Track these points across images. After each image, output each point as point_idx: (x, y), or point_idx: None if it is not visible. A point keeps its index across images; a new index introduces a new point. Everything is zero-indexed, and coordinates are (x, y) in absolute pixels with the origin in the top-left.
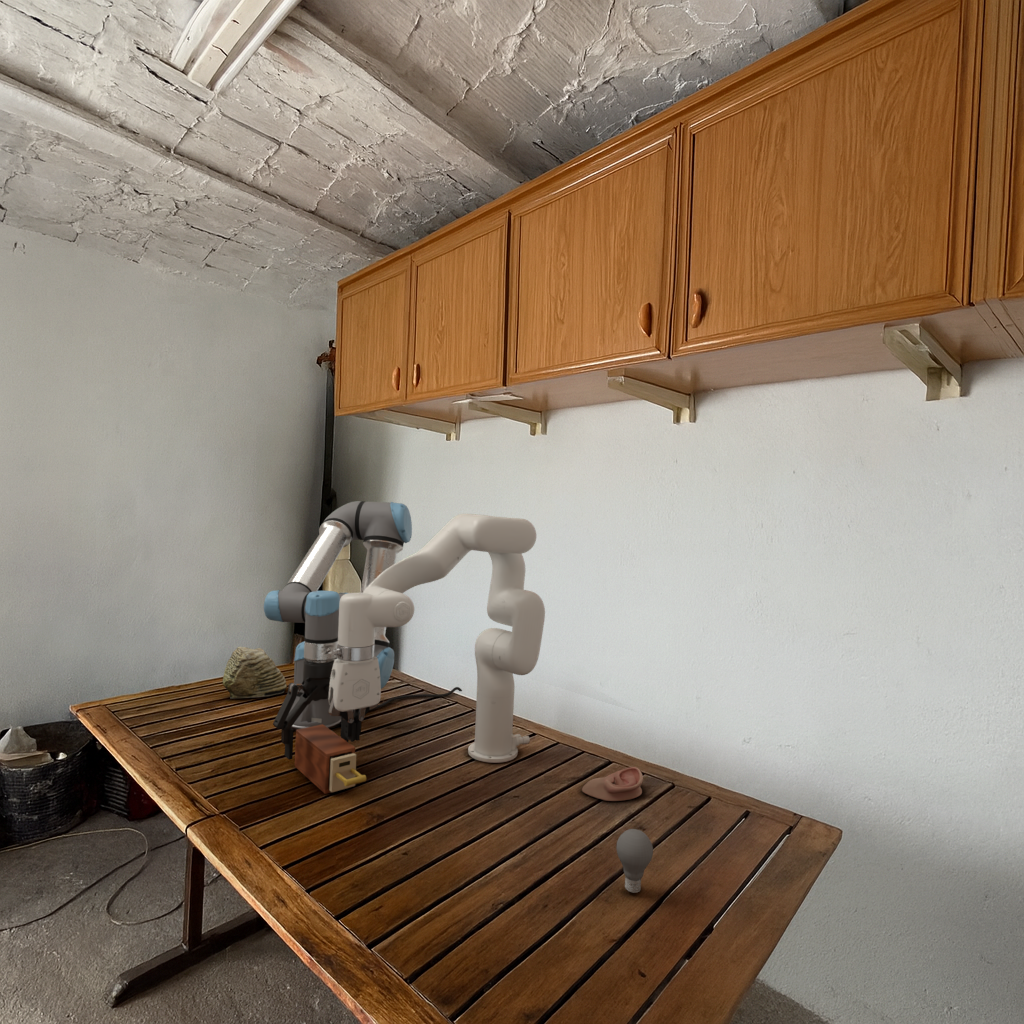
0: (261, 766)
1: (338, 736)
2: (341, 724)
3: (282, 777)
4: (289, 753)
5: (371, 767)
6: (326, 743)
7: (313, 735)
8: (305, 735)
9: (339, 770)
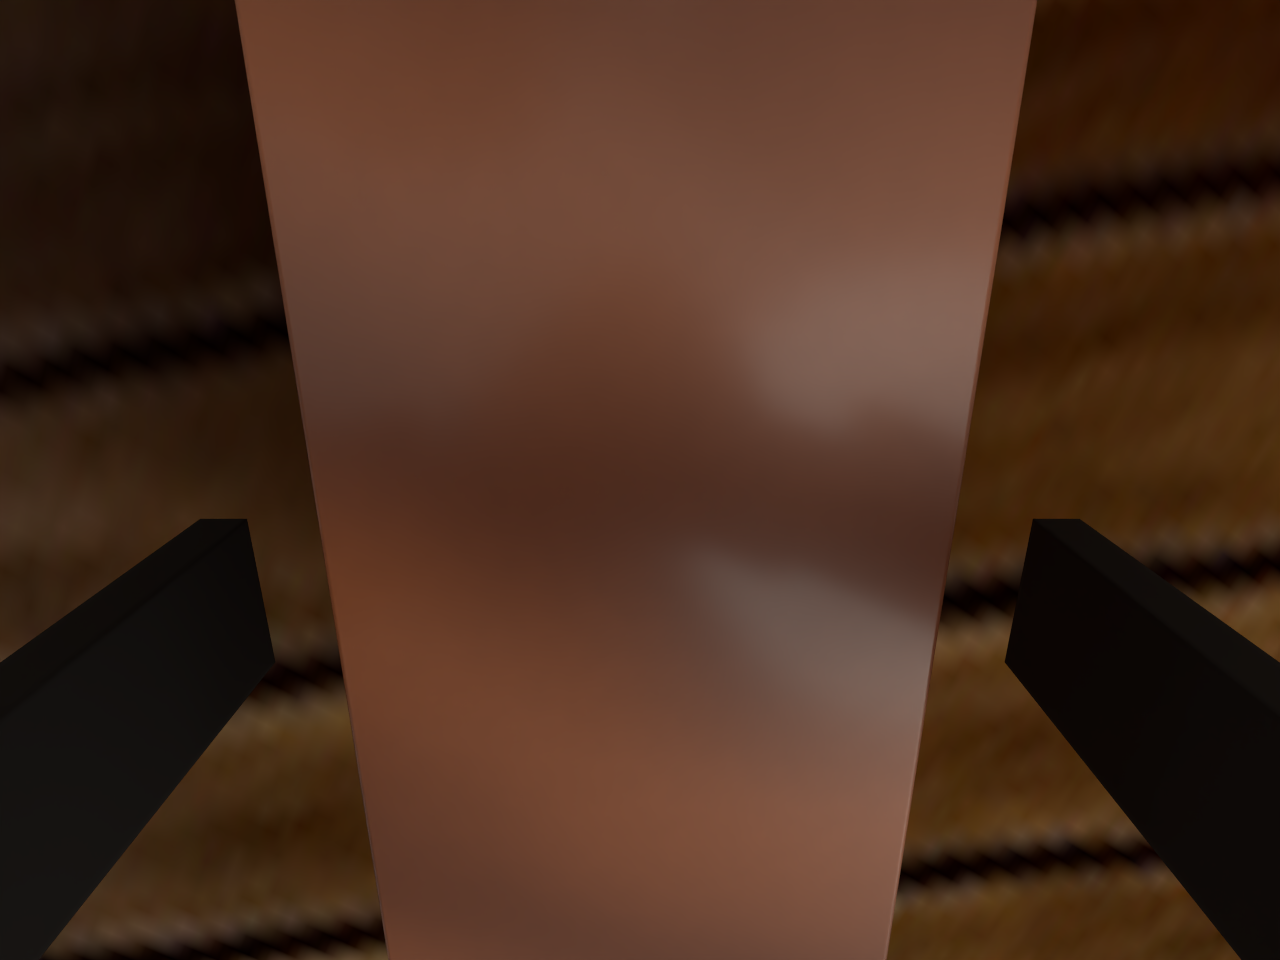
0: (989, 810)
1: (326, 397)
2: (93, 868)
3: (968, 526)
4: (1128, 557)
5: (82, 231)
6: (741, 136)
7: (759, 709)
8: (879, 779)
9: None
